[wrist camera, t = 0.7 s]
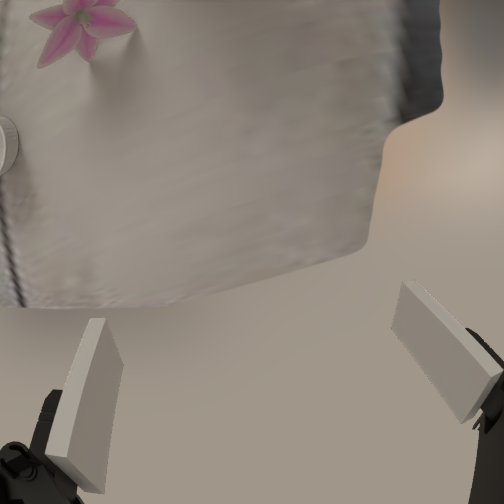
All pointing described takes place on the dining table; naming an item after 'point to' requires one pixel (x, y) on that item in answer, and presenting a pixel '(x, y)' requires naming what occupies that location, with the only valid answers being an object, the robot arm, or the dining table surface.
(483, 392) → the robot arm
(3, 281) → the dining table surface
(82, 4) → the lily
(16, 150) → the ramekin
